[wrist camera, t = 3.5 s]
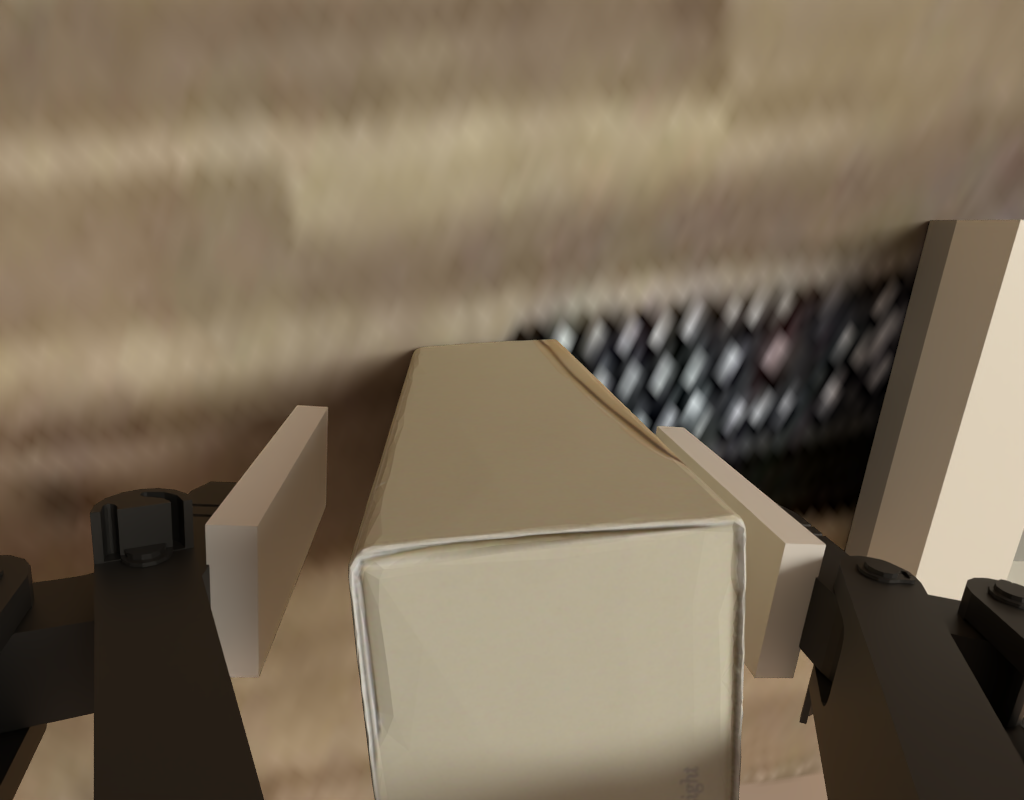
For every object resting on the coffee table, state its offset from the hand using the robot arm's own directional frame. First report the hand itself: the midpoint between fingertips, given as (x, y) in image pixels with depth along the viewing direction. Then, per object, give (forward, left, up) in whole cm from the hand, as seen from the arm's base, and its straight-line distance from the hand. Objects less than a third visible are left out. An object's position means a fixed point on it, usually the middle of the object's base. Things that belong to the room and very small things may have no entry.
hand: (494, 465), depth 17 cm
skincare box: (0, 0, -2) cm, 2 cm away
